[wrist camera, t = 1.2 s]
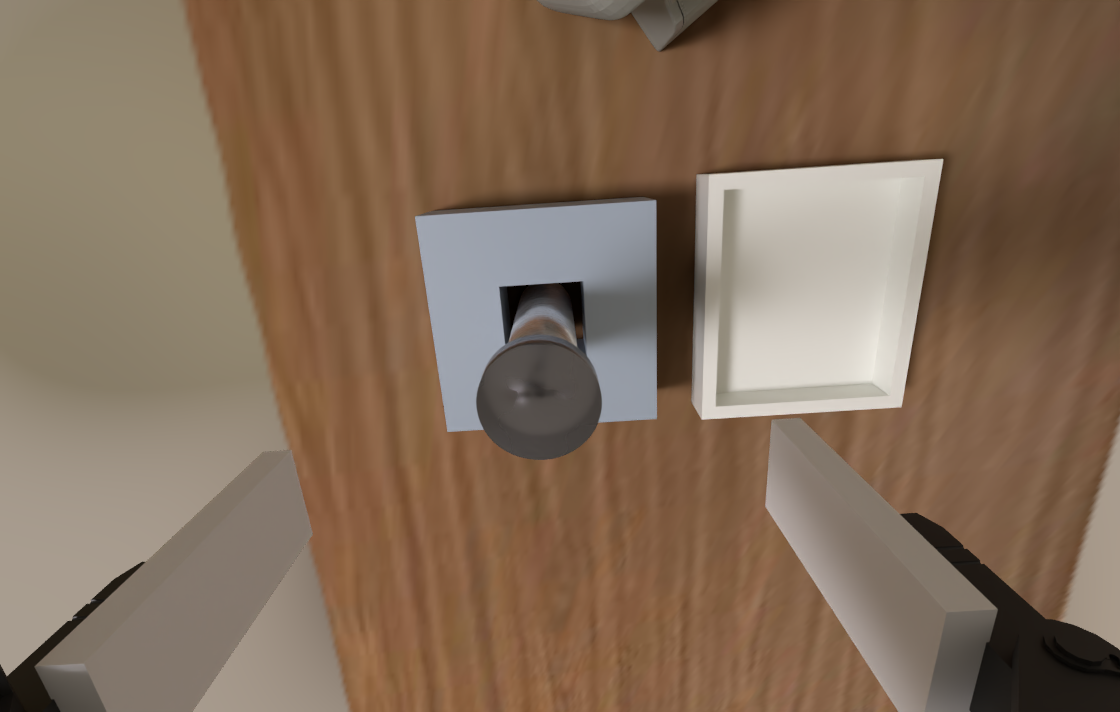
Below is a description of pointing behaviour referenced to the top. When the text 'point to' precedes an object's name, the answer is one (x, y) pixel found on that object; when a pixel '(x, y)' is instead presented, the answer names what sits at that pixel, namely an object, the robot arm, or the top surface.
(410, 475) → the top surface
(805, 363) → the tray
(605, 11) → the digital clock
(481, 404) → the pin
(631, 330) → the socket block
